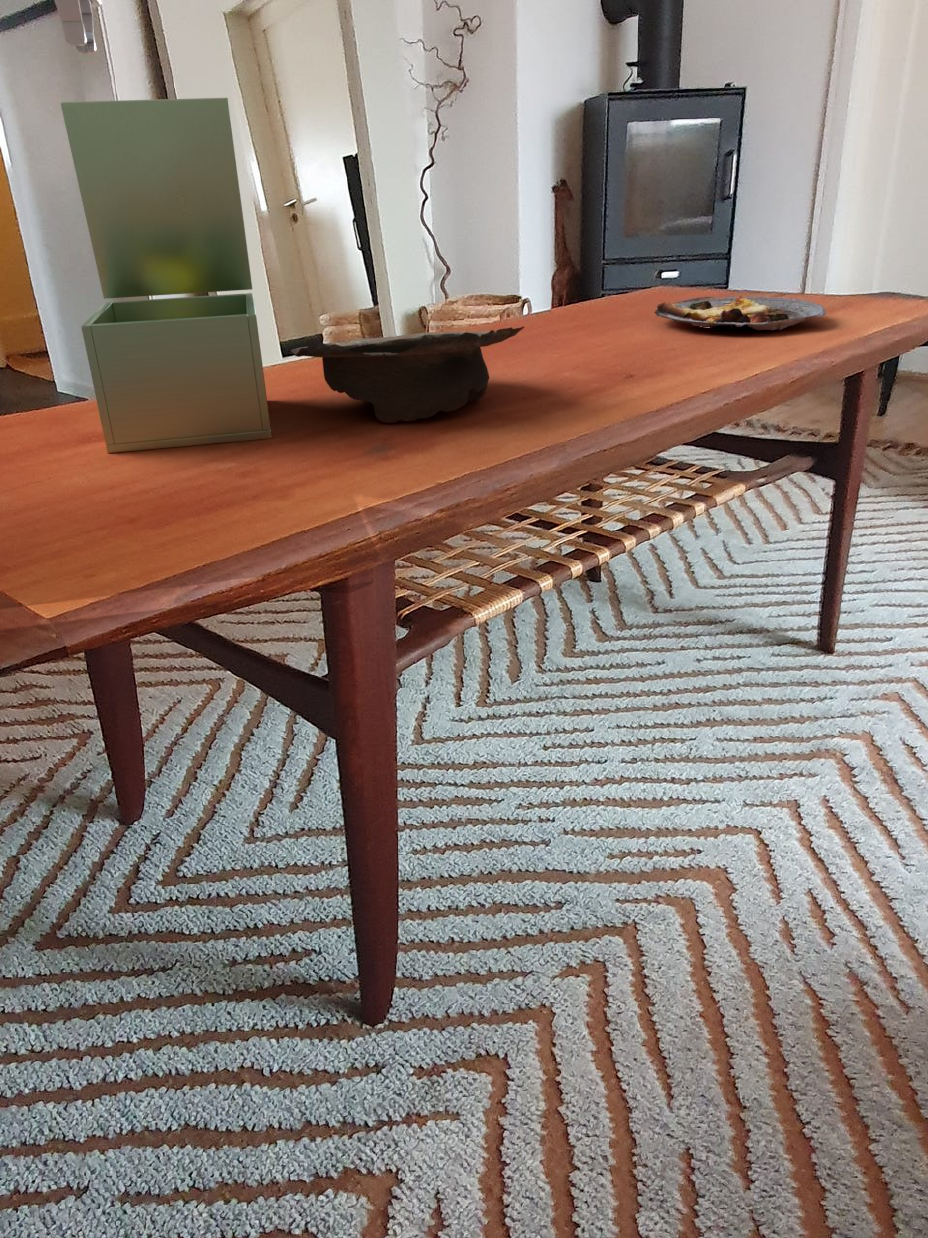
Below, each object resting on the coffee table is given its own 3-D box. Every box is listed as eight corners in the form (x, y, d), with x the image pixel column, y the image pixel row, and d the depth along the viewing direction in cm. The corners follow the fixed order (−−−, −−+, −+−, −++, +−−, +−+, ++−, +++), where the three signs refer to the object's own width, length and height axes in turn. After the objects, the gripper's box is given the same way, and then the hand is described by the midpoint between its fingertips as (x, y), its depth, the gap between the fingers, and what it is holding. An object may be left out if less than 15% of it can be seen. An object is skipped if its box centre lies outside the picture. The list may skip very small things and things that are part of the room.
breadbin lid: (227, 98, 91) (227, 92, 95) (60, 102, 89) (66, 96, 92) (252, 289, 102) (250, 277, 106) (103, 298, 99) (107, 286, 103)
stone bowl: (442, 441, 88) (430, 340, 84) (253, 431, 101) (235, 344, 97) (563, 384, 106) (558, 299, 102) (390, 383, 120) (379, 307, 116)
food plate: (719, 342, 130) (721, 316, 128) (625, 322, 149) (626, 299, 147) (855, 324, 139) (858, 300, 137) (750, 307, 158) (752, 285, 156)
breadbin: (271, 438, 92) (255, 314, 87) (107, 453, 90) (81, 325, 84) (266, 399, 108) (252, 292, 103) (126, 411, 105) (104, 302, 100)
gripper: (34, -100, 94) (65, 60, 100) (-14, -164, 76) (28, 36, 82) (100, -99, 95) (126, 59, 101) (68, -162, 77) (103, 35, 83)
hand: (82, 49), depth 91 cm, fingers open, 5 cm apart
